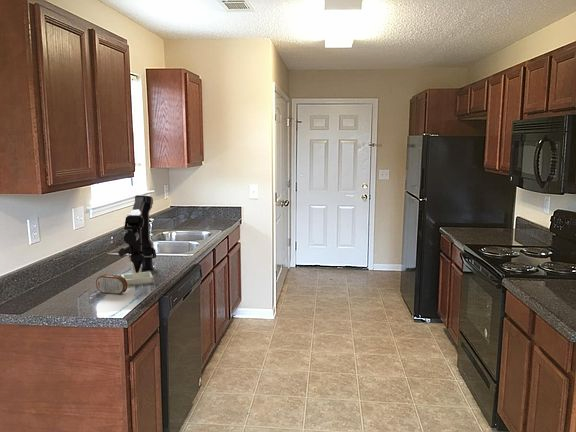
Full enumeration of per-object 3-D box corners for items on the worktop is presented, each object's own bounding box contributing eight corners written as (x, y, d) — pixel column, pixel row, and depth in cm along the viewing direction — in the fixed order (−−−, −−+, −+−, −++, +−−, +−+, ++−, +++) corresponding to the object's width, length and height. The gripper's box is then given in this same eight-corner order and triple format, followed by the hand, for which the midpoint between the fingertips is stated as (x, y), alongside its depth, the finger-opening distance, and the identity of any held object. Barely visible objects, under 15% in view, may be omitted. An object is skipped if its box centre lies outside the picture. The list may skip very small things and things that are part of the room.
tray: (121, 280, 234) (121, 274, 234) (150, 277, 239) (150, 271, 239) (122, 286, 223) (122, 280, 223) (153, 283, 228) (153, 277, 228)
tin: (128, 293, 212) (127, 275, 211) (124, 295, 209) (123, 277, 208) (99, 291, 216) (98, 273, 215) (95, 293, 213) (94, 274, 212)
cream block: (132, 276, 232) (131, 258, 231) (140, 275, 233) (139, 257, 232) (132, 278, 228) (131, 259, 227) (141, 277, 230) (140, 259, 228)
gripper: (116, 237, 234) (118, 268, 236) (118, 245, 217) (119, 278, 219) (140, 236, 238) (141, 266, 240) (143, 243, 221) (144, 275, 223)
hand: (136, 271), depth 230 cm, fingers closed on cream block, 4 cm apart
